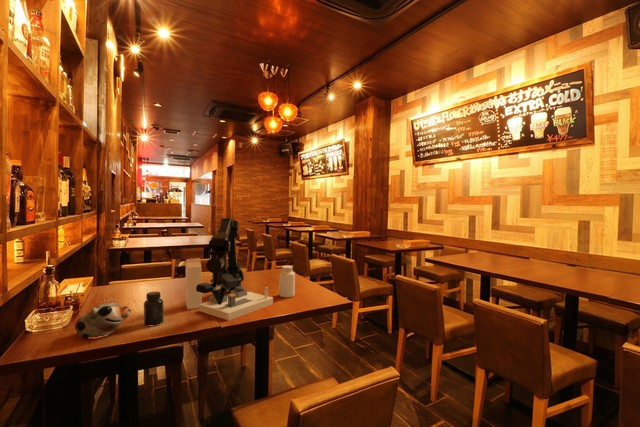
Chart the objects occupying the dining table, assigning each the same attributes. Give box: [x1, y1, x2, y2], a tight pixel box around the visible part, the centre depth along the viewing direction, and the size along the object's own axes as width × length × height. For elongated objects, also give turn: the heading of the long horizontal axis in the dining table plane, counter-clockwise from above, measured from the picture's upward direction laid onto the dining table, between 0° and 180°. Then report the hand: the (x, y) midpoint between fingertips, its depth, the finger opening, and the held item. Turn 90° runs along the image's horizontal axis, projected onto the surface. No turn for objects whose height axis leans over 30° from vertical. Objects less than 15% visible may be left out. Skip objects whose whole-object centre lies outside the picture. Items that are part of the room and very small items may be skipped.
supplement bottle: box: [143, 291, 164, 326], centre depth 128 cm, size 7×7×12 cm
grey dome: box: [235, 285, 244, 292], centre depth 156 cm, size 4×4×2 cm
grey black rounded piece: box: [74, 302, 132, 338], centre depth 118 cm, size 15×12×14 cm
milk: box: [185, 257, 203, 310], centre depth 148 cm, size 6×6×22 cm
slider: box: [227, 293, 236, 306], centre depth 141 cm, size 3×2×4 cm
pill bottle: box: [278, 265, 296, 299], centre depth 166 cm, size 8×8×15 cm
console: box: [199, 286, 274, 322], centre depth 147 cm, size 19×26×8 cm
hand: (219, 304), depth 136 cm, fingers closed
